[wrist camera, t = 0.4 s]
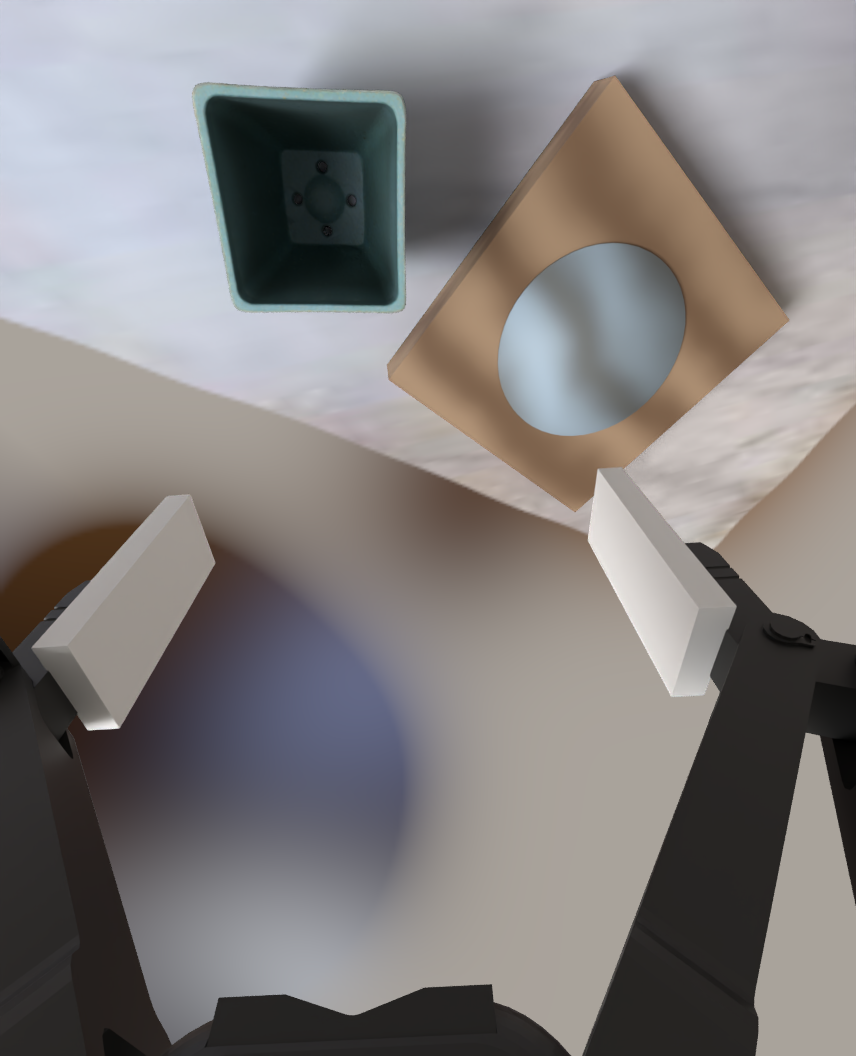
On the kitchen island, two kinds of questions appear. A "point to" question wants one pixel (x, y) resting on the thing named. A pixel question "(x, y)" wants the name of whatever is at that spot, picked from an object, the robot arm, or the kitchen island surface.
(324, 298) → the flower pot
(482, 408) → the walnut plinth
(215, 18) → the kitchen island surface
